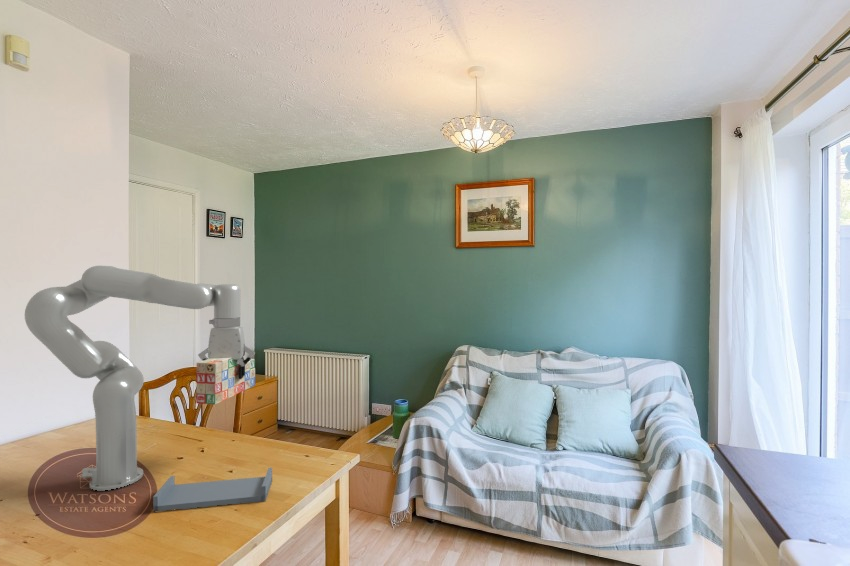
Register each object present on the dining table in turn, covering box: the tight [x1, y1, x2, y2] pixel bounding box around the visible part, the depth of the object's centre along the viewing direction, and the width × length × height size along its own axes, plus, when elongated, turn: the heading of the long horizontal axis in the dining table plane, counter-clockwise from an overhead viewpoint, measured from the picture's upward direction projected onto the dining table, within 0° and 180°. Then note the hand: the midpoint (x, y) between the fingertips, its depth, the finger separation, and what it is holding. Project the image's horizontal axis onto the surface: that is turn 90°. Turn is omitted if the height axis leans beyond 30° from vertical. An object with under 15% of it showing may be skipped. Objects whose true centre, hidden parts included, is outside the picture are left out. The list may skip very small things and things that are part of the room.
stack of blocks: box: [195, 358, 256, 405], centre depth 132 cm, size 21×6×12 cm, turn 172°
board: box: [152, 467, 273, 513], centre depth 113 cm, size 27×11×4 cm, turn 102°
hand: (227, 378), depth 131 cm, fingers closed on stack of blocks, 7 cm apart
